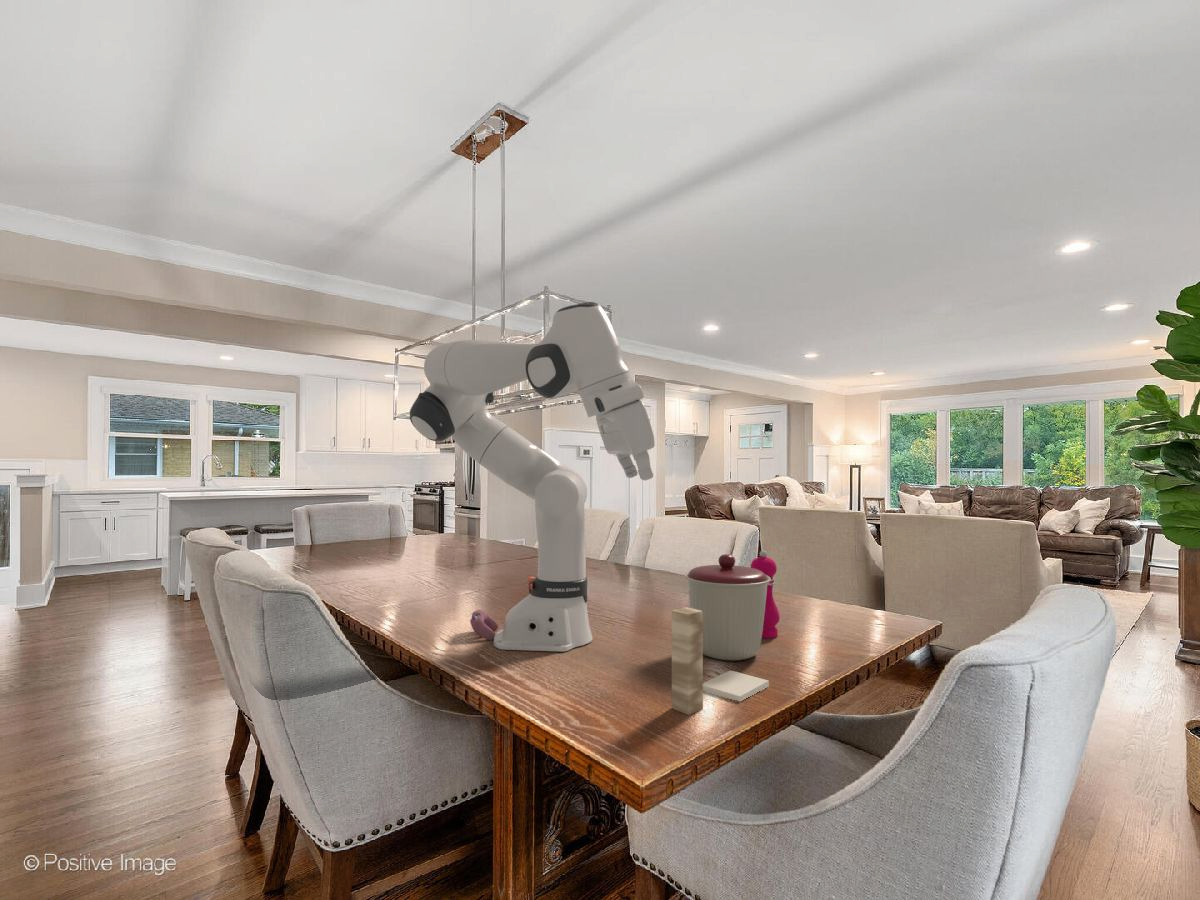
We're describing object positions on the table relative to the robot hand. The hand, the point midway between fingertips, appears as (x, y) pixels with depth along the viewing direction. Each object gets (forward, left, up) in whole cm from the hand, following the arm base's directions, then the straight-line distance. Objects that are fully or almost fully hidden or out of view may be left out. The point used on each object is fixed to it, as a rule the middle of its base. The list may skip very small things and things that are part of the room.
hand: (639, 477), depth 97 cm
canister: (+23, +29, -38) cm, 53 cm away
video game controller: (-30, +47, -38) cm, 68 cm away
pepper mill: (+36, +42, -38) cm, 67 cm away
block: (+8, +1, -38) cm, 39 cm away
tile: (+15, +6, -39) cm, 42 cm away
